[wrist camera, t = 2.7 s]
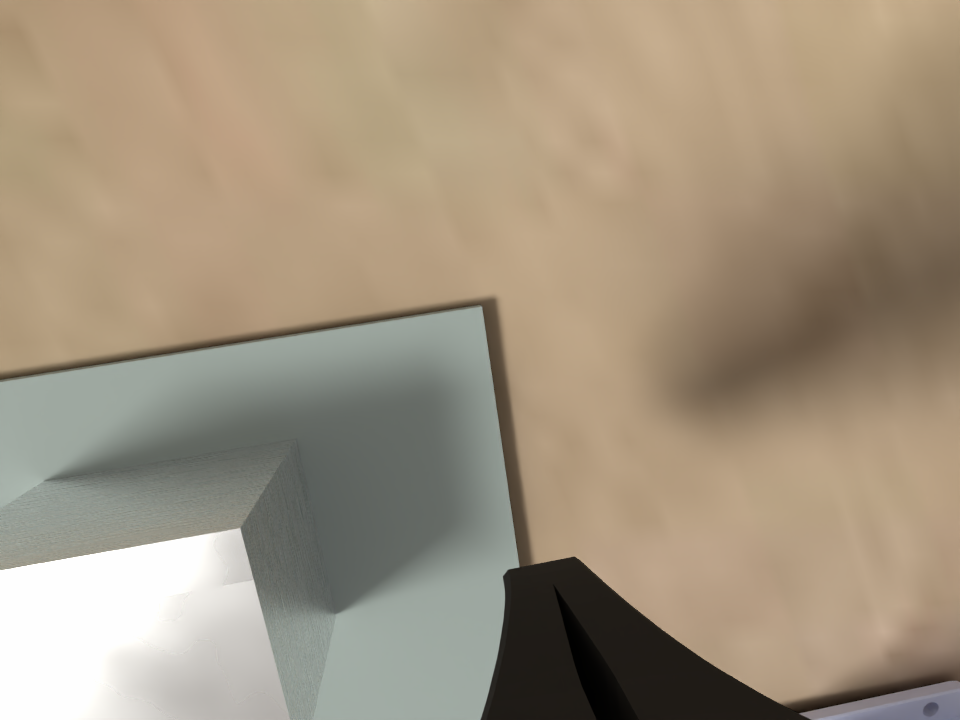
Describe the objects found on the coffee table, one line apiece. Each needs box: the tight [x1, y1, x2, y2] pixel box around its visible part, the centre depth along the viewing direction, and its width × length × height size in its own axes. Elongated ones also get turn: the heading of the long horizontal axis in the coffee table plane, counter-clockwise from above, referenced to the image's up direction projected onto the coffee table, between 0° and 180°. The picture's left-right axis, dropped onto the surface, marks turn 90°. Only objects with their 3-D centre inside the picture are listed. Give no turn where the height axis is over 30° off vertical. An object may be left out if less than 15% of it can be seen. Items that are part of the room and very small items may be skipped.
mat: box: [0, 305, 519, 720], centre depth 15 cm, size 22×12×1 cm, turn 98°
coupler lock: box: [0, 438, 337, 720], centre depth 12 cm, size 6×5×4 cm
